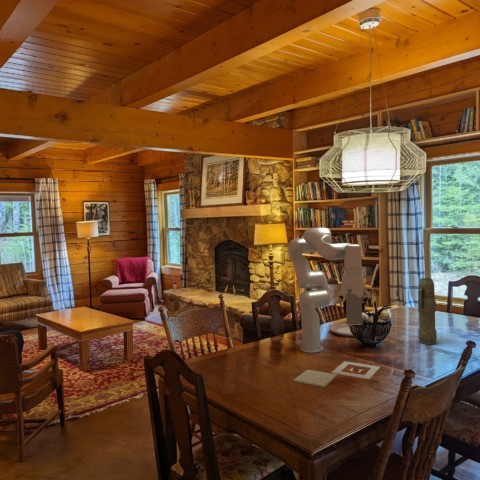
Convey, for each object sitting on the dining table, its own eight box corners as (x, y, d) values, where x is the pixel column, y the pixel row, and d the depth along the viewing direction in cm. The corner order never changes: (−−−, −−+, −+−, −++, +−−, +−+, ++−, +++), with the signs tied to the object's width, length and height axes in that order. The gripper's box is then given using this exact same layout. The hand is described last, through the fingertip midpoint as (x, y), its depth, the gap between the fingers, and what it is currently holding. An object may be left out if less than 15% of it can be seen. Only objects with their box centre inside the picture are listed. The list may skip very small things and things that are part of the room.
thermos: (441, 342, 236) (439, 277, 234) (430, 346, 228) (429, 280, 226) (425, 339, 242) (423, 276, 241) (414, 343, 235) (412, 279, 233)
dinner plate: (327, 327, 277) (327, 322, 277) (371, 326, 275) (371, 321, 274) (332, 339, 250) (331, 333, 250) (380, 338, 247) (380, 333, 247)
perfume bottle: (362, 324, 193) (361, 284, 192) (346, 324, 195) (345, 284, 194) (361, 321, 200) (360, 282, 199) (346, 321, 201) (345, 282, 200)
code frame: (331, 373, 196) (331, 372, 196) (344, 362, 210) (344, 361, 210) (368, 379, 186) (368, 378, 186) (380, 367, 200) (380, 366, 200)
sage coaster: (293, 381, 188) (293, 379, 188) (307, 371, 199) (307, 369, 199) (324, 387, 180) (324, 385, 180) (336, 376, 192) (336, 374, 192)
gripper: (331, 272, 198) (332, 310, 199) (369, 273, 188) (370, 314, 189) (337, 269, 204) (338, 307, 205) (374, 271, 194) (375, 310, 195)
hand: (354, 310), depth 197 cm, fingers closed on perfume bottle, 6 cm apart
